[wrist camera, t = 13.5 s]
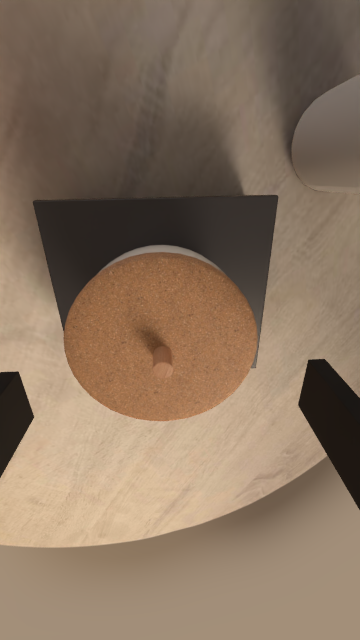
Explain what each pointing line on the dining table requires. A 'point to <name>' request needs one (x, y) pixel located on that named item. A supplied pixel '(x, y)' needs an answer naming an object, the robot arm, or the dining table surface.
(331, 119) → the can
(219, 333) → the lidded bowl
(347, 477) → the robot arm
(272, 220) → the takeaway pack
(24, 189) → the dining table surface
